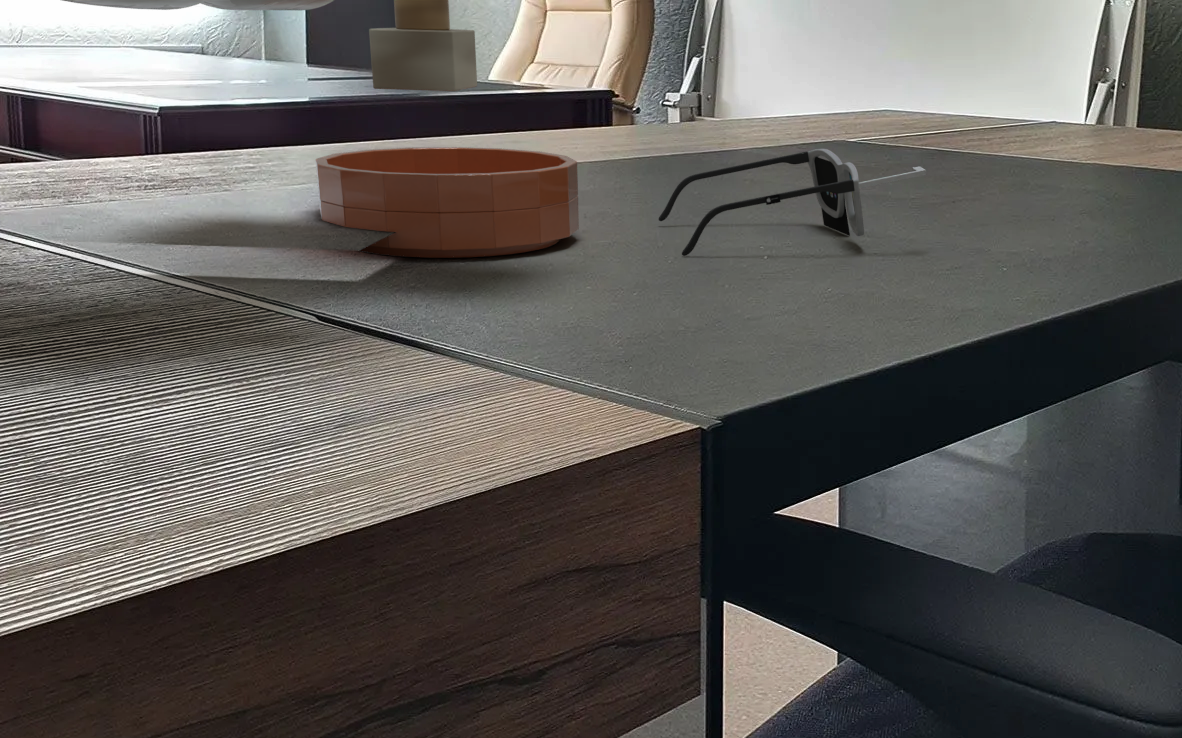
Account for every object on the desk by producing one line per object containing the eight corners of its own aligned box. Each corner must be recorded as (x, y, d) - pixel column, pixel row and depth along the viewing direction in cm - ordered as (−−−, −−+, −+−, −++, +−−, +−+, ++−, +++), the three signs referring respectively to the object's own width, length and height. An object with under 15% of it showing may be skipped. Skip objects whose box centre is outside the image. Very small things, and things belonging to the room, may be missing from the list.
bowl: (283, 256, 74) (274, 169, 72) (372, 217, 87) (366, 144, 86) (548, 265, 73) (545, 178, 72) (597, 225, 87) (595, 151, 85)
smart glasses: (937, 246, 79) (927, 158, 77) (691, 298, 77) (674, 209, 75) (882, 210, 90) (871, 132, 88) (664, 255, 88) (649, 177, 86)
